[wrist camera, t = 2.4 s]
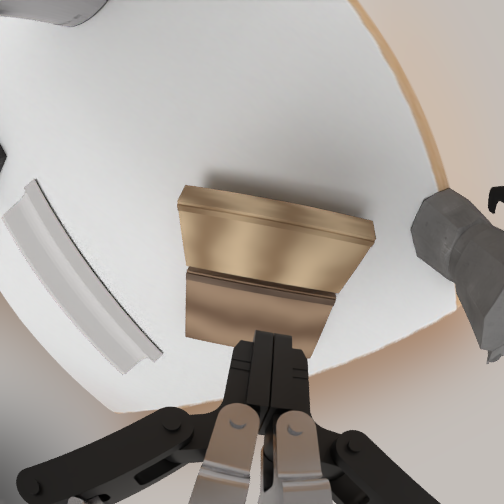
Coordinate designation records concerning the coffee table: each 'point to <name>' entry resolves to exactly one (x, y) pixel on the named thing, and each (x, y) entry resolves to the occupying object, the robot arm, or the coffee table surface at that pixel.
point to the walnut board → (253, 309)
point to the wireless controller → (2, 157)
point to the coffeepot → (467, 259)
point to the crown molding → (75, 282)
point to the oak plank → (271, 239)
